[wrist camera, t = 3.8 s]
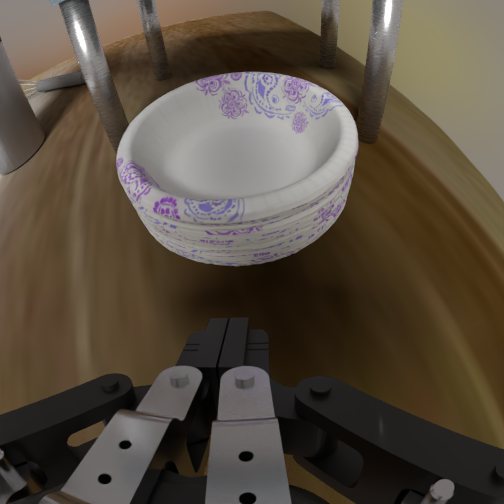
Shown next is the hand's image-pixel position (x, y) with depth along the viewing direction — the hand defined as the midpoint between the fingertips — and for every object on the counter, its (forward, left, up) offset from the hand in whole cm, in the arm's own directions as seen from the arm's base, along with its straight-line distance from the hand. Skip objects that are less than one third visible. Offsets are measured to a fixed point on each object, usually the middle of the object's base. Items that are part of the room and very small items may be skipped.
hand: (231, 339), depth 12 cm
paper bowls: (-6, +11, -6) cm, 14 cm away
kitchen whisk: (-63, +22, -7) cm, 68 cm away
